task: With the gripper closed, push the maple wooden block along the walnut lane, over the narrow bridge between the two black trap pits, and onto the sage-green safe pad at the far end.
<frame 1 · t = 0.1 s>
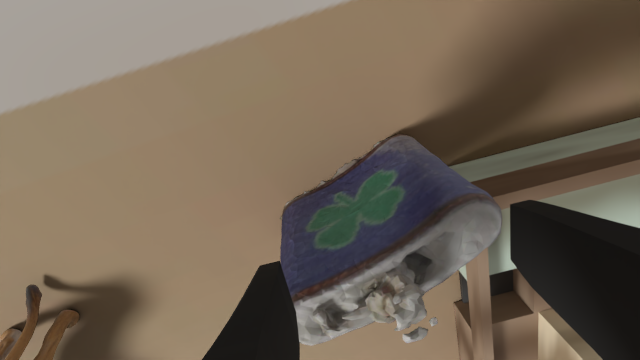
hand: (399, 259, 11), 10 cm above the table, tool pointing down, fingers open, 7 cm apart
flask: (347, 185, 21), on the table
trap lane: (549, 255, 24), on the table
maple block: (574, 330, 23), point 2 cm above the table, touching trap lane
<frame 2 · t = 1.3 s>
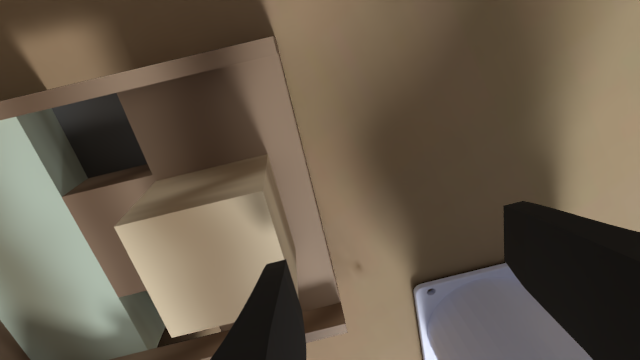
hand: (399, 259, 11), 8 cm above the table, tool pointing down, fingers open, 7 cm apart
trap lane: (153, 215, 18), on the table
maple block: (229, 217, 16), point 2 cm above the table, touching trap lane
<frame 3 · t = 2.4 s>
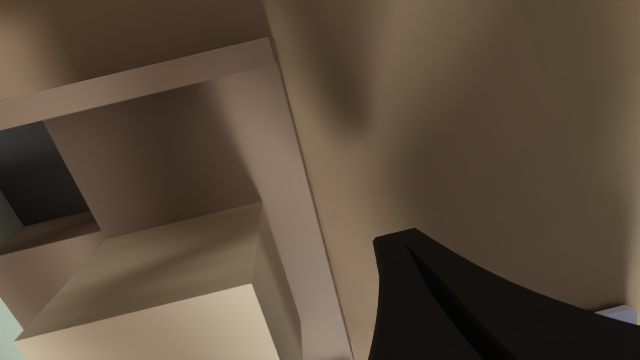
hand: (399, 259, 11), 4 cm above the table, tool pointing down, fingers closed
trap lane: (114, 270, 14), on the table
maple block: (211, 283, 12), point 2 cm above the table, touching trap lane
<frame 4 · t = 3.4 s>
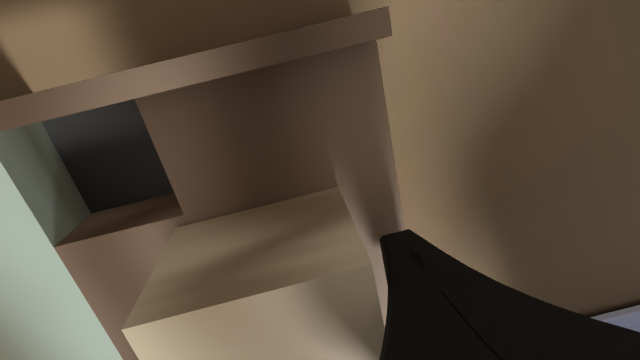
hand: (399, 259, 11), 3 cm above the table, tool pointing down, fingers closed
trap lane: (177, 258, 14), on the table
maple block: (279, 273, 11), point 3 cm above the table, touching gripper
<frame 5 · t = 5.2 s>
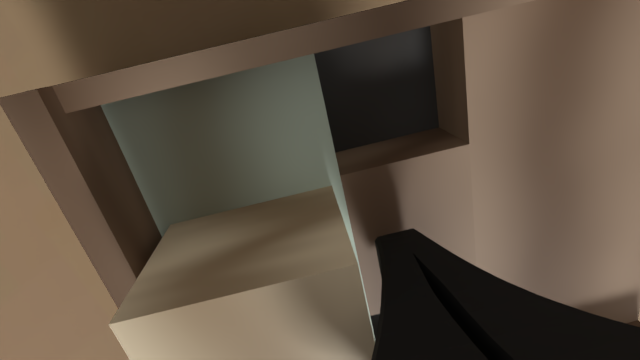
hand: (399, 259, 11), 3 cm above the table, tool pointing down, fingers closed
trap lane: (393, 204, 14), on the table
maple block: (273, 271, 11), point 2 cm above the table, touching gripper, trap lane
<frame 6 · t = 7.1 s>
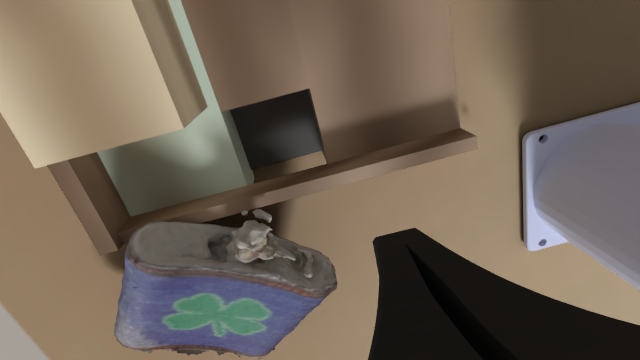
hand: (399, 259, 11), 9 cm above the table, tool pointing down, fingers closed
flask: (202, 333, 21), point 2 cm above the table, touching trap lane
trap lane: (249, 33, 16), on the table
maple block: (125, 62, 14), point 2 cm above the table, touching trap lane
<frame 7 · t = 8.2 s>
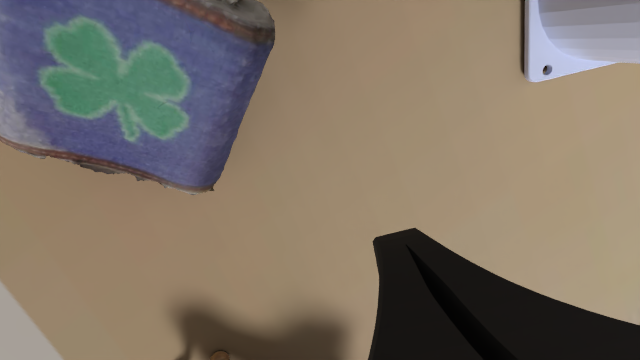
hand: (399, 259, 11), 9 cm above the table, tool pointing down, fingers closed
flask: (119, 158, 17), point 2 cm above the table, touching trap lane
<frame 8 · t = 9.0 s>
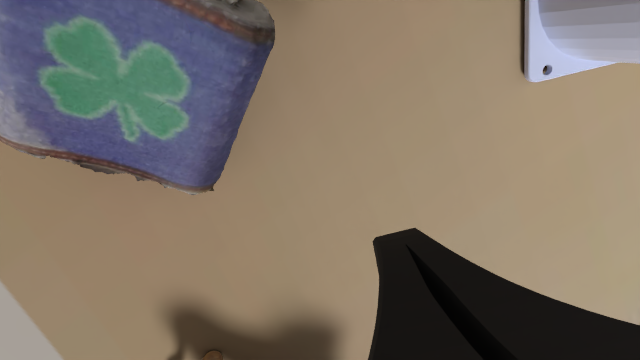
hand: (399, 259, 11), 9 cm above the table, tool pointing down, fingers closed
flask: (119, 158, 17), point 2 cm above the table, touching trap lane
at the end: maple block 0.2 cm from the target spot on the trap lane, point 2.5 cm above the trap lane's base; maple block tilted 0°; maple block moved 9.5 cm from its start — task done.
